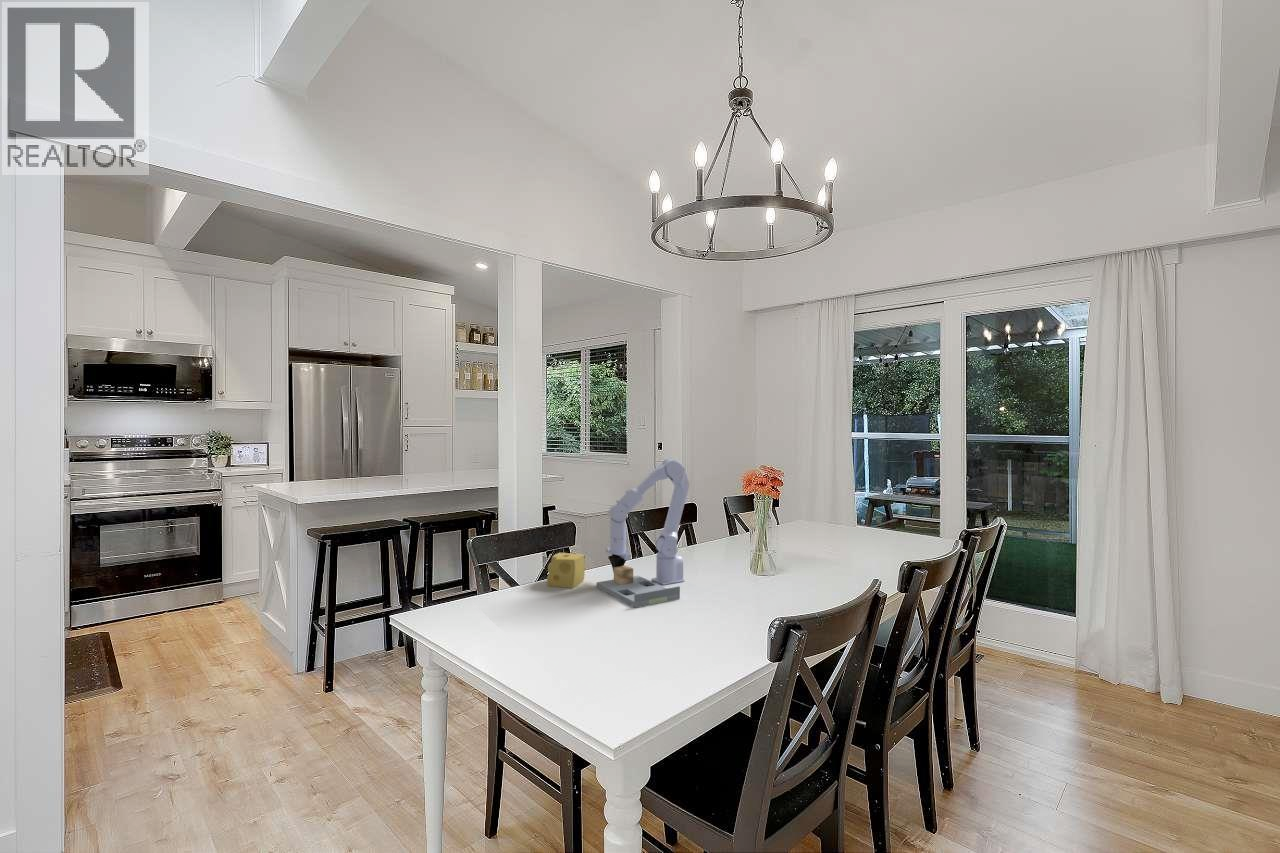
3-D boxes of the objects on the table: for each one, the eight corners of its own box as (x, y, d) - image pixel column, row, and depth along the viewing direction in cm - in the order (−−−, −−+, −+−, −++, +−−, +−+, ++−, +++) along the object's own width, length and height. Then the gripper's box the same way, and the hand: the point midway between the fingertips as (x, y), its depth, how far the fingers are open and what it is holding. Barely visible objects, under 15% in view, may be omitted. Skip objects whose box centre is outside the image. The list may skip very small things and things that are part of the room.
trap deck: (638, 579, 214) (638, 569, 214) (679, 598, 192) (679, 586, 192) (596, 586, 205) (596, 575, 205) (635, 607, 183) (635, 594, 183)
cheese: (546, 586, 206) (546, 557, 206) (559, 578, 216) (559, 551, 216) (574, 589, 203) (574, 560, 203) (586, 580, 213) (586, 553, 213)
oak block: (625, 579, 209) (626, 565, 209) (633, 582, 205) (633, 568, 205) (613, 581, 207) (613, 567, 207) (620, 584, 202) (620, 570, 202)
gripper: (598, 535, 214) (598, 572, 214) (618, 543, 201) (617, 582, 202) (615, 533, 217) (615, 570, 218) (635, 540, 205) (635, 579, 205)
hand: (617, 576), depth 210 cm, fingers closed
